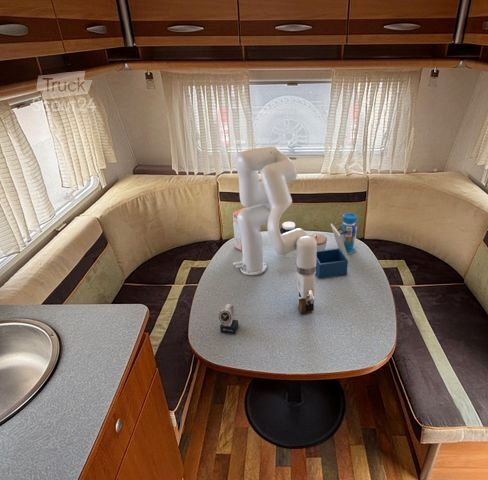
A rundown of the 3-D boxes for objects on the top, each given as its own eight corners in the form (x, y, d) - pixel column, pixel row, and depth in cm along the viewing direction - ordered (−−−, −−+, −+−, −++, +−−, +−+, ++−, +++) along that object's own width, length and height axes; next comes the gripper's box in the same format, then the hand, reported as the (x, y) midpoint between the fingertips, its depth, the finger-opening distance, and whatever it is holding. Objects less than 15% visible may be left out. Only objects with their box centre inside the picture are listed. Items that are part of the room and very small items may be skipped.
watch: (219, 335, 133) (215, 313, 128) (226, 321, 140) (223, 299, 135) (233, 338, 132) (230, 315, 127) (240, 323, 139) (238, 301, 134)
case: (319, 278, 164) (319, 264, 161) (311, 265, 174) (312, 251, 170) (346, 274, 167) (348, 260, 163) (338, 261, 177) (339, 248, 173)
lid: (339, 235, 155) (348, 231, 155) (330, 224, 165) (339, 220, 165) (347, 260, 163) (356, 256, 163) (338, 247, 173) (347, 243, 173)
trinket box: (326, 256, 181) (327, 240, 176) (305, 256, 181) (306, 240, 177) (325, 246, 190) (326, 230, 186) (305, 245, 190) (305, 230, 186)
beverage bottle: (335, 250, 187) (337, 215, 177) (345, 244, 192) (348, 210, 182) (347, 256, 181) (351, 221, 171) (358, 250, 186) (362, 215, 176)
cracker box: (242, 251, 186) (239, 215, 175) (234, 247, 189) (231, 211, 179) (261, 242, 194) (260, 206, 184) (254, 238, 198) (252, 203, 188)
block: (301, 314, 143) (301, 305, 141) (298, 307, 147) (298, 298, 145) (311, 312, 144) (312, 304, 142) (308, 305, 148) (308, 297, 146)
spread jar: (282, 248, 188) (281, 229, 182) (275, 238, 198) (275, 219, 192) (303, 244, 192) (303, 225, 186) (296, 235, 201) (296, 216, 195)
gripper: (291, 257, 142) (291, 292, 150) (302, 282, 127) (302, 318, 135) (309, 255, 143) (308, 289, 152) (322, 278, 129) (321, 315, 137)
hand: (306, 303), depth 144 cm, fingers open, 9 cm apart
